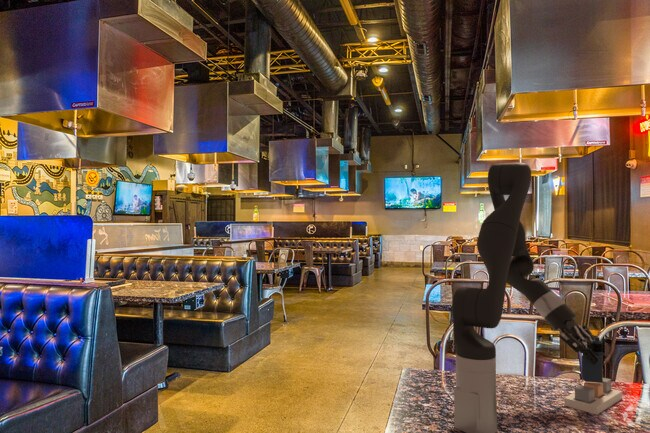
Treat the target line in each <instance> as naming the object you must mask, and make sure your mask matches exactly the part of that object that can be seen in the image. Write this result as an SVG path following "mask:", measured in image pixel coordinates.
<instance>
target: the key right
mask: <svg viewBox="0 0 650 433" xmlns="http://www.w3.org/2000/svg"><path fill="white" fill-rule="evenodd" d="M597 383H601V384H603V391H604V392H608V391H609V390H611V389H612V379H611V378H606V377H603V382H597Z"/></svg>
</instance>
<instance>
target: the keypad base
mask: <svg viewBox="0 0 650 433" xmlns="http://www.w3.org/2000/svg"><path fill="white" fill-rule="evenodd" d="M594 398H595V399H594V400H592V401H591V402H586V401H583V400H579V399H575V391H574V392H573V393H571V394H569V395H567V396H565V397H564V398H563V400H564V402H563V404H564V407H565V406H566V407H569V408H572V409H576V410H579V411H582V412H587V413H590V414H593V415H599V414H601V413H602V412H603V411H605V410H606V409H607V410H608V409H609V408H610V407H611V406H613V405H614V404H616V403H618V402H620V401H621V400H622V399H623V391H621V390H618V389H614V388H611V390H609V391H608V392H604V391H603V395H601V396H599V397H596V396H594Z"/></svg>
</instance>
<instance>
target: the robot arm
mask: <svg viewBox="0 0 650 433" xmlns="http://www.w3.org/2000/svg"><path fill="white" fill-rule="evenodd" d="M531 181H532V170H531V167H530V166H529V164H528V163H525V162H501V163H493V164H492V165H491V166H490V167H489V169H488V174H487V185H488V192H489V196H490V198H491V202H492V206H493V211H492V212H491V213H490V214H488V216H486V218H485V219H484V220H483V221H482V224H481V225H480V228H479V233H478V236H477V239H476V249H477V252H478V255H479V256H480V258H481V260H482V262H483V265H484V266H485V268H486V270H487V273H488V284H487V287H486V288H481V287H469V286H468V287H467V286H464V287H463V286H460V287H458V288H456V290H455V291H454V293H453V296H452V301H451V304H452V305H451V311H452V312H451V315H452V325H453V326H452V327H453V344H454V348H455V387H454V388H453V407H454V409H453V411H454V412H453V414H454V416H453V417H454V422H453V423H454V424H453V425H454V428H455V430H458V431H461V432H464V433H497V432H498V410H497V408H498V405H497V404H498V403H497V402H498V401H497V398H498V397H497V350H496V344H494V343H493V342H492V341H490V340H488V339H487V338H485V337H484V336H482V335H480V334H479V332H477V331H476V330H475V328H483V329H496V327H498V325H499V324H500V322H501V320H502V316H503V311H504V306H505V305H504V304H505V296H506V288H507V285H509V286H511V287H513V289H515V290H516V291H518V292H519V293H520V294H522V295H523V296H524V297H526V298H527V301H529V303H531V304H532V306H533V307H534V308H535V310H536V311H537V312H538V314H539V315H540V316H541V317H542V319H544V320H545V321H546V323H547V324H548V325H549V326H550V327H551V328H552V329H553V330H554V331H556V332H557V331H560V332H561V334H560V335H559V338H560V339H561V340H562V341H563V343H564V344H566V345H568V346H569V347H570V348H571V349H572V350H573V351H574V352H575V353H577V354H578V353H580V354H582V355H583V354H584V355H585V357H586V358H587V359H588V360H589V361H590V362H591V363H592V364H593V365H594V364H596V363H598V362H599V361H600V359H599V358H598V357H597V356H596V355H595V354H594V353H593V341H592V340H595V337H596V336H594V334H593V333H592V332H591V330H590V329H589V327H588V326H586V325H583V326H581V324H579V323H577V321H575V319H576V318H577V314H576V313H575V312H574V311H573V310H572V309H571V307H570V306H569V305H568V304H566V303H565V301H564V300H563V299H562V298H561V297H560V296H559V295H558V294H556V293H555V291H553V289H552V288H550V287H549V286H548V285H547V284H546V283H545V282H544V280H542V279H541V278H532V279H528V278H527V277H528V276H529V275H531V274H532V273H533V271H534V269H535V268H534V266H535V265H534V261H533V259H532V257H531V255H530V252H529V250H528V248H527V241H526V231H525V228H524V225H523V222H521V215H522V211H523V208H524V205H525V202H526V200H527V196H528V193H529V190H530V188H531V186H530V185H531ZM505 196H508V197H507V198H506V197H505ZM606 359H607V355H606V354H605V353H604V352H603V361H604V360H606Z"/></svg>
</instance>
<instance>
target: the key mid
mask: <svg viewBox="0 0 650 433" xmlns="http://www.w3.org/2000/svg"><path fill="white" fill-rule="evenodd" d="M583 386H586V387H590V388H594V396H596V397H599V396H601V395H603V384H601V383H597V382H587V381H584V383H583Z"/></svg>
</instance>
